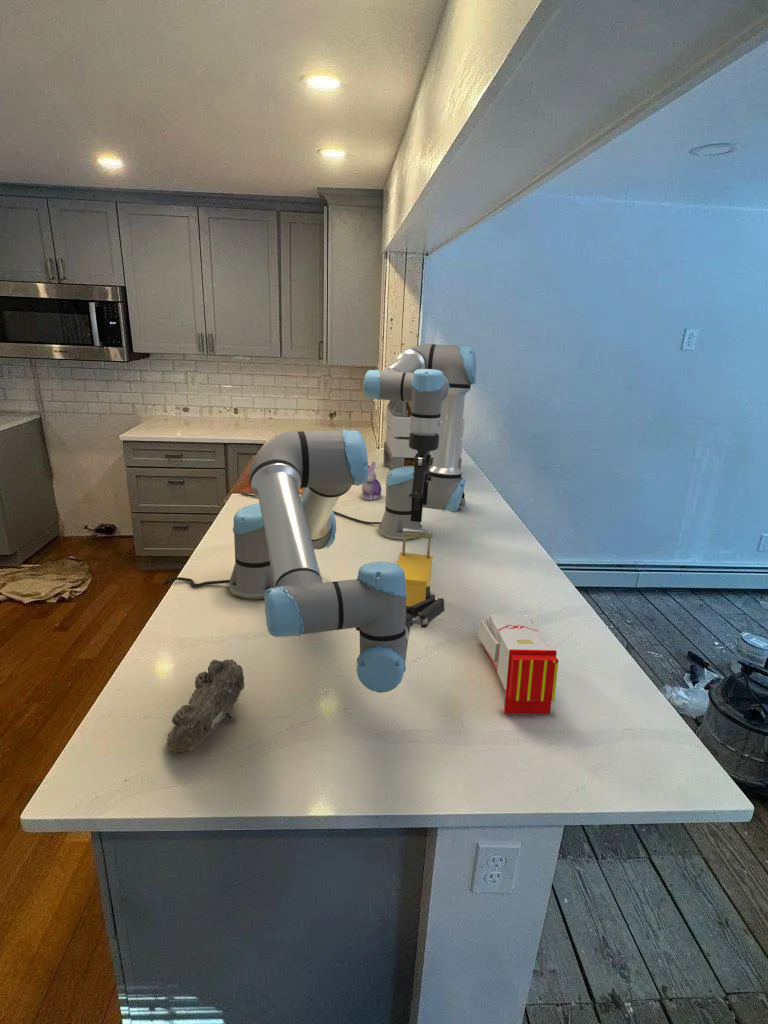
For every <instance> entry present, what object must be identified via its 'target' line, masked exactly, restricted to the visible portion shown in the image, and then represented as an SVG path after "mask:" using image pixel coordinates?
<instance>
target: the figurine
mask: <svg viewBox="0 0 768 1024" xmlns="http://www.w3.org/2000/svg"><path fill="white" fill-rule="evenodd" d="M375 468H376V461H372V463H371V464H370V465H369V464H368V478H367V481H366V483H365V484H362V485H361V491H362V493H361V498H362V500H364V501H365V500H366V501H373V500H377V499H380V498H381V497H382V496H381V495H382V486H381V483H380V481H379V480H378V479H377V474H376V471H375Z"/></svg>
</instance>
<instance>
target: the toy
mask: <svg viewBox="0 0 768 1024" xmlns="http://www.w3.org/2000/svg"><path fill="white" fill-rule="evenodd" d="M477 635H478V637H477V638H478V639H479V641H480V643H481V645H482V647H483V649H484V651H485V652H486V654H487V655H488V658H489V659H490V661H491V663H492V665H493V667H494V669H495V671H496V672H497V675H498V677H499V679H500V682H501V684H502V685H503V688H504V690H505V699H504V709H503V712H504V714H522V715H523V714H528V715H535V714H536V715H540V714H541V715H551V710H552V702H555V700H556V699H555V698H556V688H557V679H558V672H559V671H558V669H559V661H560V660H559V659H558V658H557V649H551V648H550V646H549V645H548V643H547V642H546V640H545V639H544V638H543V636H542V635H541V634H540V632H539V630H538V629H536V626H535V624H533V622H532V619H530V618H529V617H528V615H527V614H501V613H500V614H495V613H493V614H492V613H489V614H488V616H486V617H485V622H484V620H483V619H480V620H479V628H478V634H477Z"/></svg>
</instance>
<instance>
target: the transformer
mask: <svg viewBox="0 0 768 1024" xmlns="http://www.w3.org/2000/svg"><path fill="white" fill-rule="evenodd" d="M388 401H389V402H388V404H387V405H386V413H385V414H386V415H385V423H386V428H385V438H384V442H383V466H384V467H388V468H389V472H390V471H391V470H393V469H396V468H401V467H405V466H406V467H414V464H415V463H414V457H415V456H416V454H417V453H418V451H417V450H414V449H411V448H410V447H409V434H410V433H411V431H410V430H409V428H410V415H411V402H407V401H395V400H388ZM464 429H465V419H464V418H463V421H462V431H461V441H460V451H459V461H458V468H459V469H460V470H461V471H462V461H463V460H462V453H463V442H464V441H463V440H462V439H463V438H464V431H465V430H464ZM433 453H434V451H430V455H431V461H430V466H432V464H433Z"/></svg>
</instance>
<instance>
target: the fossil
mask: <svg viewBox="0 0 768 1024" xmlns="http://www.w3.org/2000/svg"><path fill="white" fill-rule="evenodd" d="M243 670H244V669H243V667H242V665H240V664H237V662H236V661H235V660H234V659H232V658H231V659H227V658H226V659H224V660H223V661H222V660H217V659H212V660H211V661H210V663H209V665H208V666H207V671H201V672H199V673H198V674H197V675H196V676H195V680H194V684H195V685H194V687H195V689H194V690H193V693H192V694H191V697H190V698H189V700H188V704H184V705H182V706H181V707H180V709H177V710H176V711H175V713H174V715H173V716H172V718H171V723H172V724H173V727H172V730H171V731H170V732H168V734H167V738H166V741H167V742H166V745H167V749H168V750H169V751H173V752H174V753H176V754H178V753H182V752H188V751H189V752H192V751H193V750H195V748H196V747H197V746H199V744H200V743H201V742H203V741H204V740H205V739H206V738H207V737H208V736H209V735H210V734H211V733H212V732H214V730H215V729H217V727H218V726H219V724H220V722H221V721H222V720H223V719H224V718H225V716H226V717H227V719H229V720H233V717H232V715H230V714H229V710H230V709H231V708H234V706H235V704H236V703H237V702H238V699H239V697H240V695H241V693H242V691H243V690H245V689H244V688H245V675H244V671H243Z"/></svg>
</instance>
